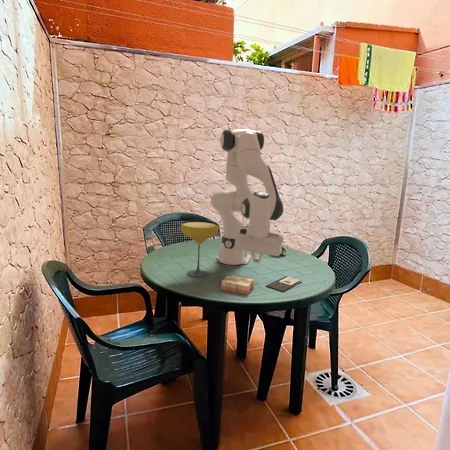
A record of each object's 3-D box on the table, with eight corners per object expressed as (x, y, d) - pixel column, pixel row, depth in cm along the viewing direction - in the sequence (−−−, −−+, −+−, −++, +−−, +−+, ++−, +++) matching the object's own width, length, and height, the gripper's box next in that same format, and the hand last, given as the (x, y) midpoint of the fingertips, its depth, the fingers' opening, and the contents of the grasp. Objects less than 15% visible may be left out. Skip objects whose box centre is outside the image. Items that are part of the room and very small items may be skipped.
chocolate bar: (265, 285, 156) (285, 276, 170) (265, 287, 156) (285, 278, 170) (283, 291, 150) (302, 281, 164) (283, 293, 150) (302, 282, 164)
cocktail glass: (200, 283, 156) (202, 229, 151) (171, 274, 166) (172, 223, 161) (223, 273, 170) (226, 224, 165) (195, 265, 180) (197, 218, 175)
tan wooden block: (253, 287, 155) (228, 283, 159) (253, 279, 154) (228, 275, 158) (247, 295, 146) (221, 289, 150) (248, 286, 145) (221, 281, 150)
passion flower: (270, 262, 210) (260, 245, 212) (281, 256, 217) (272, 239, 219) (281, 256, 202) (271, 238, 203) (292, 250, 208) (283, 233, 210)
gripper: (285, 232, 143) (282, 264, 146) (239, 226, 151) (237, 256, 154) (281, 236, 137) (278, 268, 140) (234, 229, 145) (232, 260, 148)
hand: (256, 262), depth 147 cm, fingers closed
